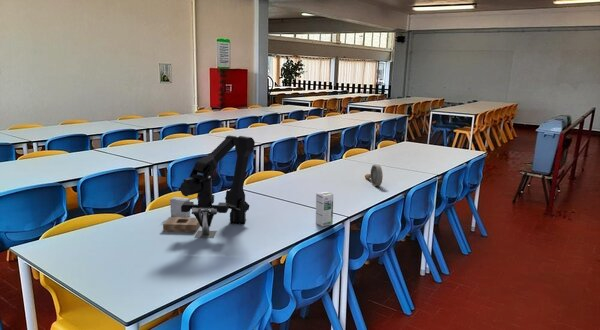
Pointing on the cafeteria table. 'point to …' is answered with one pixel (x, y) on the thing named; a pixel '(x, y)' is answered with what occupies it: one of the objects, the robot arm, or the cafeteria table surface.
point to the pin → (205, 221)
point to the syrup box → (324, 209)
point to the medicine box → (178, 207)
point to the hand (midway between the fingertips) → (205, 226)
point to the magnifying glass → (375, 175)
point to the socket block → (181, 224)
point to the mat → (200, 235)
